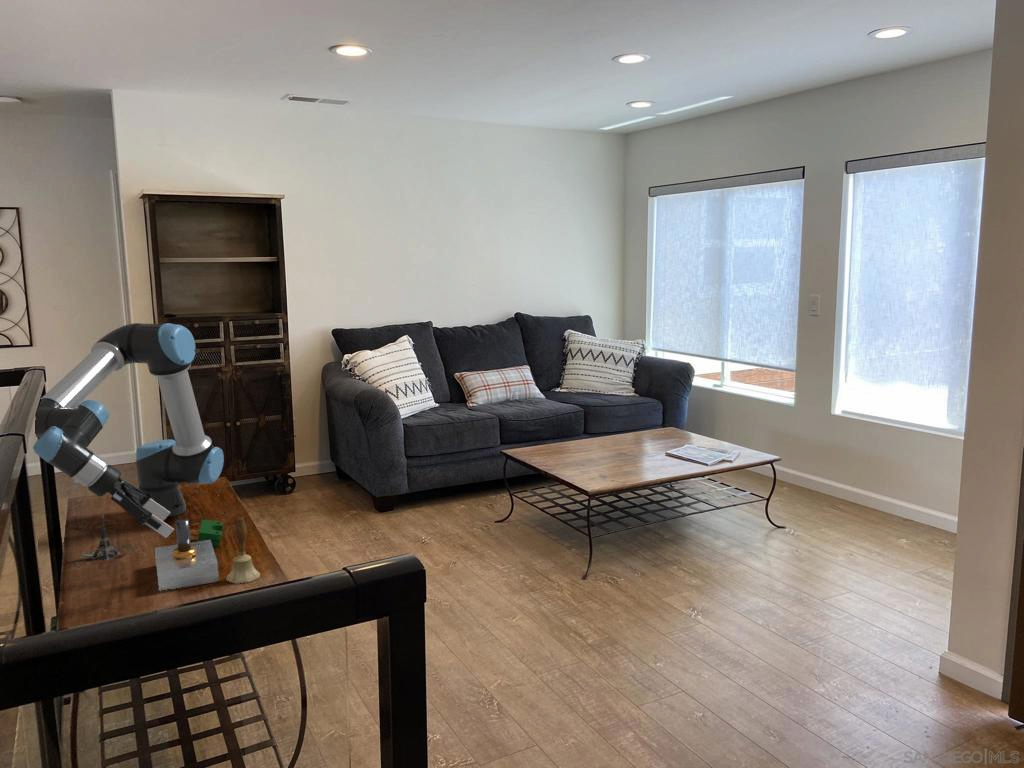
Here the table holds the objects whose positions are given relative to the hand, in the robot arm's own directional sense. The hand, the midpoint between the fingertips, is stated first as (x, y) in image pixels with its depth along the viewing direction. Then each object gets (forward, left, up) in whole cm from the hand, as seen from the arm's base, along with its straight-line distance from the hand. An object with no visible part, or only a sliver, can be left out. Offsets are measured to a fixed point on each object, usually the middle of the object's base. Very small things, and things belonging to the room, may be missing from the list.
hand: (168, 525), depth 200 cm
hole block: (-1, +4, -14) cm, 14 cm away
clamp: (-20, +11, -14) cm, 27 cm away
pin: (-1, +3, -14) cm, 14 cm away
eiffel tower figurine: (-23, -16, -15) cm, 32 cm away
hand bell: (+8, +16, -14) cm, 23 cm away
